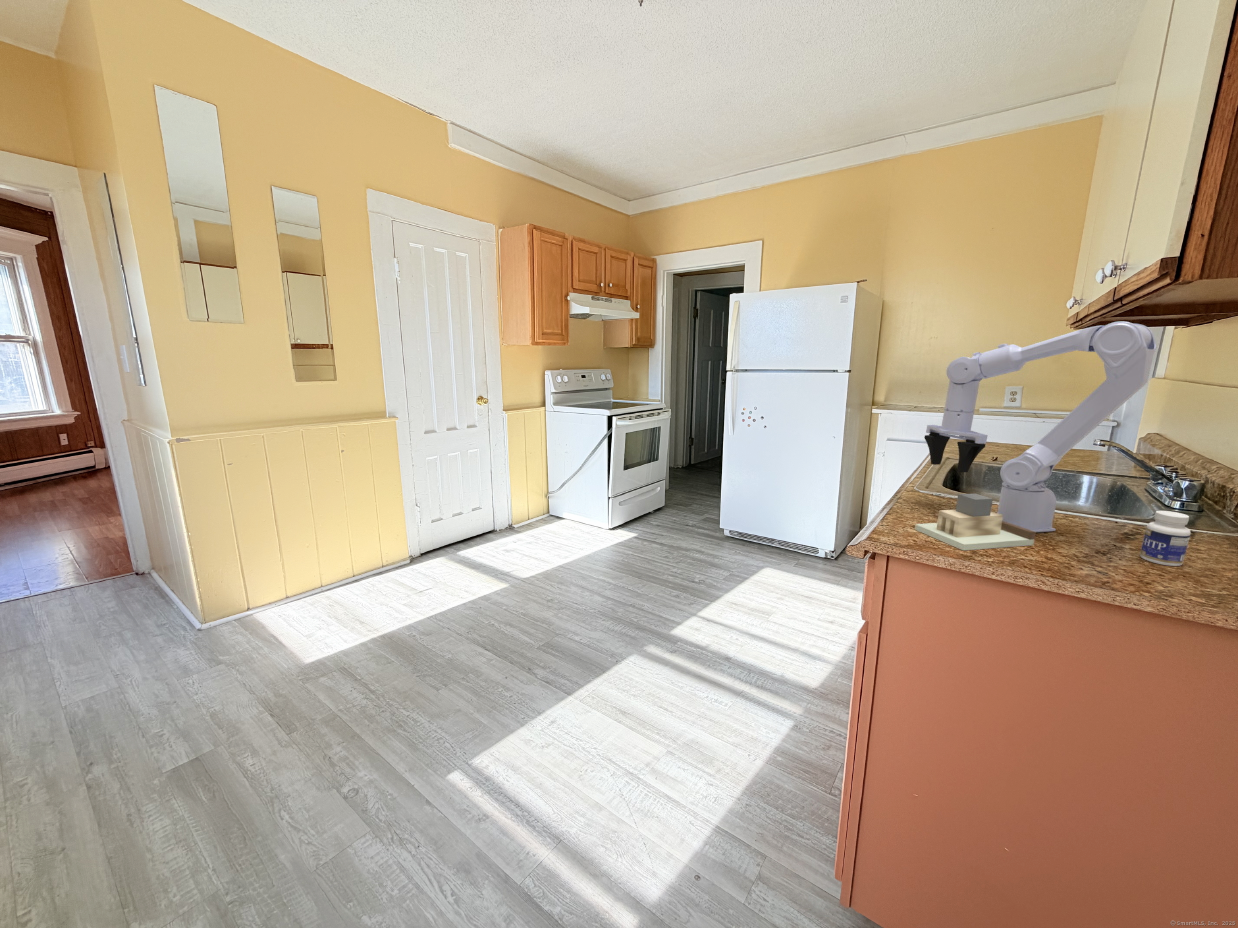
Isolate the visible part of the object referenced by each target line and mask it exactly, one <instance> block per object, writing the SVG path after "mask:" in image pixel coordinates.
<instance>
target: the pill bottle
mask: <svg viewBox="0 0 1238 928" xmlns="http://www.w3.org/2000/svg"><path fill="white" fill-rule="evenodd" d="M1189 519H1190V516H1189V515H1187V514H1184V513H1181V512H1178V511H1177V512H1176V511H1170V510H1156V511H1155V514H1154V518H1153V520H1155V521H1150V522H1148V523H1147V524H1146V528H1145V531H1144V536H1143V540H1142V544H1141V549H1140V551H1139V552H1140V553H1139V556H1140V558H1142V559H1143V560H1145V561H1148V562H1150V563H1154V564H1157V565H1158V564H1159V565H1162V566H1171V567H1179V566H1182V565H1183V563H1184V560H1185V555H1186V552H1187V548H1188V546H1189V545H1188V544H1189V541H1190V538H1191V530H1190V528H1188V527H1186V525H1188V523H1189Z"/></svg>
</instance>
